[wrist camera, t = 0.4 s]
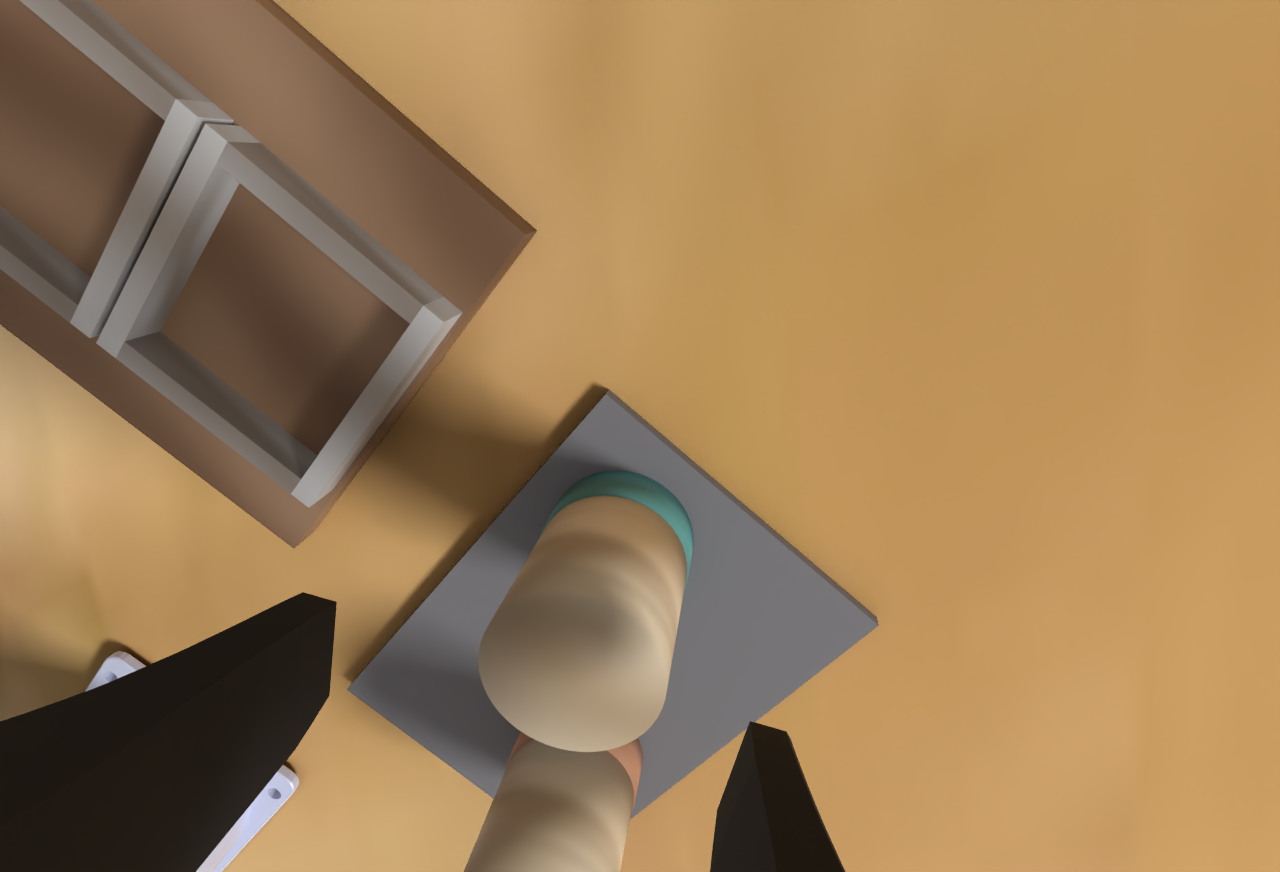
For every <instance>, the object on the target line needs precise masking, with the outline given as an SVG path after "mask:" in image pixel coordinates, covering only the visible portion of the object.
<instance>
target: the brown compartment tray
mask: <svg viewBox="0 0 1280 872" xmlns="http://www.w3.org/2000/svg"><path fill="white" fill-rule="evenodd" d="M536 231H537V230H536V229H534V228H533V227H532V226H531V225H530V224H529V223H528V222H526V221H525V220H524V219H523V218H522V217H521V216H520V215H518V214H517V213H516V212H515V211H514V210H513V209H511V208H510V207H509V206H508V205H507V204H506V203H505V202H503V201H502V200H501V199H500V198H499V197H498V196H497V195H495V194H494V193H493V192H492V191H491V190H490V189H489V188H487V187H486V186H485V185H484V184H483V183H482V182H480V181H479V180H478V179H477V178H476V177H475V176H474V175H472V174H471V173H470V172H469V171H468V170H467V169H466V168H464V167H463V166H462V165H461V164H460V163H459V162H458V161H456V160H455V159H454V158H453V157H452V156H451V155H449V154H448V153H447V152H446V151H445V150H444V149H443V148H441V147H440V146H439V145H438V144H437V143H436V142H435V141H433V140H432V139H431V138H430V137H429V136H428V135H427V134H425V133H424V132H423V131H422V130H421V129H420V128H418V127H417V126H416V125H415V124H414V123H413V122H412V121H410V120H409V119H408V118H407V117H406V116H405V115H404V114H402V113H401V112H400V111H399V110H398V109H397V108H396V107H394V106H393V105H392V104H391V103H390V102H389V101H387V100H386V99H385V98H384V97H383V96H382V95H381V94H379V93H378V92H377V91H376V90H375V89H374V88H373V87H371V86H370V85H369V84H368V83H367V82H366V81H365V80H363V79H362V78H361V77H360V76H359V75H358V74H356V73H355V72H354V71H353V70H352V69H351V68H350V67H348V66H347V65H346V64H345V63H344V62H343V61H342V60H340V59H339V58H338V57H337V56H336V55H335V54H334V53H332V52H331V51H330V50H329V49H328V48H327V47H325V46H324V45H323V44H322V43H321V42H320V41H319V40H317V39H316V38H315V37H314V36H313V35H312V34H311V33H309V32H308V31H307V30H306V29H305V28H304V27H303V26H301V25H300V24H299V23H298V22H297V21H296V20H294V19H293V18H292V17H291V16H290V15H289V14H288V13H286V12H285V11H284V10H283V9H282V8H281V7H280V6H278V5H277V4H276V3H275V2H274V1H273V0H0V324H1V325H2V326H3V327H5V328H6V329H7V330H8V331H10V332H11V333H12V334H14V335H15V336H16V337H18V338H19V339H20V340H22V341H23V342H24V343H25V344H27V345H28V346H29V347H31V348H32V349H33V350H35V351H36V352H37V353H39V354H40V355H41V356H42V357H44V358H45V359H46V360H48V361H49V362H50V363H52V364H53V365H54V366H56V367H57V368H58V369H60V370H61V371H62V372H63V373H65V374H66V375H67V376H69V377H70V378H71V379H73V380H74V381H75V382H77V383H78V384H79V385H80V386H82V387H83V388H84V389H86V390H87V391H88V392H90V393H91V394H92V395H94V396H95V397H96V398H97V399H99V400H100V401H101V402H103V403H104V404H105V405H107V406H108V407H109V408H111V409H112V410H113V411H114V412H116V413H117V414H118V415H120V416H121V417H122V418H124V419H125V420H126V421H128V422H129V423H130V424H131V425H133V426H134V427H135V428H137V429H138V430H139V431H141V432H142V433H143V434H145V435H146V436H147V437H149V438H150V439H151V440H152V441H154V442H155V443H156V444H158V445H159V446H160V447H162V448H163V449H164V450H166V451H167V452H168V453H169V454H171V455H172V456H173V457H175V458H176V459H177V460H179V461H180V462H181V463H183V464H184V465H185V466H186V467H188V468H189V469H190V470H192V471H193V472H194V473H196V474H197V475H198V476H200V477H201V478H202V479H203V480H205V481H206V482H207V483H209V484H210V485H211V486H213V487H214V488H215V489H217V490H218V491H219V492H221V493H222V494H223V495H224V496H226V497H227V498H228V499H230V500H231V501H232V502H234V503H235V504H236V505H238V506H239V507H240V508H241V509H243V510H244V511H245V512H247V513H248V514H249V515H251V516H252V517H253V518H255V519H256V520H257V521H258V522H260V523H261V524H262V525H264V526H265V527H266V528H268V529H269V530H270V531H272V532H273V533H274V534H275V535H277V536H278V537H279V538H281V539H282V540H283V541H285V542H286V543H287V544H289V545H290V546H291V547H292V548H295V547H296V546H298V545H299V544H300V543H301V542H302V541H304V540H305V539H306V538H307V537H308V536H310V535H311V534H312V533H313V532H314V531H315V529H316V528H317V527H318V525H319V524H320V522H321V521H322V520H323V518H324V517H325V516H326V514H327V513H328V512H329V510H330V509H331V508H332V506H333V505H334V504H335V502H336V501H337V500H338V498H339V497H340V496H341V494H342V493H343V492H344V490H345V489H346V487H347V486H348V485H349V483H350V482H351V481H352V479H353V478H354V477H355V475H356V474H357V473H358V471H359V470H360V469H361V467H362V466H363V465H364V463H365V462H366V461H367V459H368V458H369V456H370V455H371V454H372V452H373V451H374V450H375V448H376V447H377V446H378V444H379V443H380V442H381V440H382V439H383V438H384V436H385V435H386V434H387V432H388V431H389V430H390V428H391V427H392V425H393V424H394V423H395V421H396V420H397V419H398V417H399V416H400V415H401V413H402V412H403V411H404V409H405V408H406V407H407V405H408V404H409V403H410V401H411V400H412V399H413V397H414V396H415V394H416V393H417V392H418V390H419V389H420V388H421V386H422V385H423V384H424V382H425V381H426V380H427V378H428V377H429V376H430V374H431V373H432V372H433V370H434V369H435V368H436V366H437V365H438V364H439V362H440V361H441V359H442V358H443V357H444V355H445V354H446V353H447V351H448V350H449V349H450V347H451V346H452V345H453V343H454V342H455V341H456V339H457V338H458V337H459V335H460V334H461V333H462V331H463V330H464V328H465V327H466V326H467V324H468V323H469V322H470V320H471V319H472V318H473V316H474V315H475V314H476V312H477V311H478V310H479V308H480V307H481V306H482V304H483V303H484V302H485V300H486V299H487V297H488V296H489V295H490V293H491V292H492V291H493V289H494V288H495V287H496V285H497V284H498V283H499V281H500V280H501V279H502V277H503V276H504V275H505V273H506V272H507V271H508V269H509V268H510V266H511V265H512V264H513V262H514V261H515V260H516V258H517V257H518V256H519V254H520V253H521V252H522V250H523V249H524V248H525V246H526V245H527V244H528V242H529V241H530V240H531V238H532V237H533V235H534V234H535V233H536Z"/></svg>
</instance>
